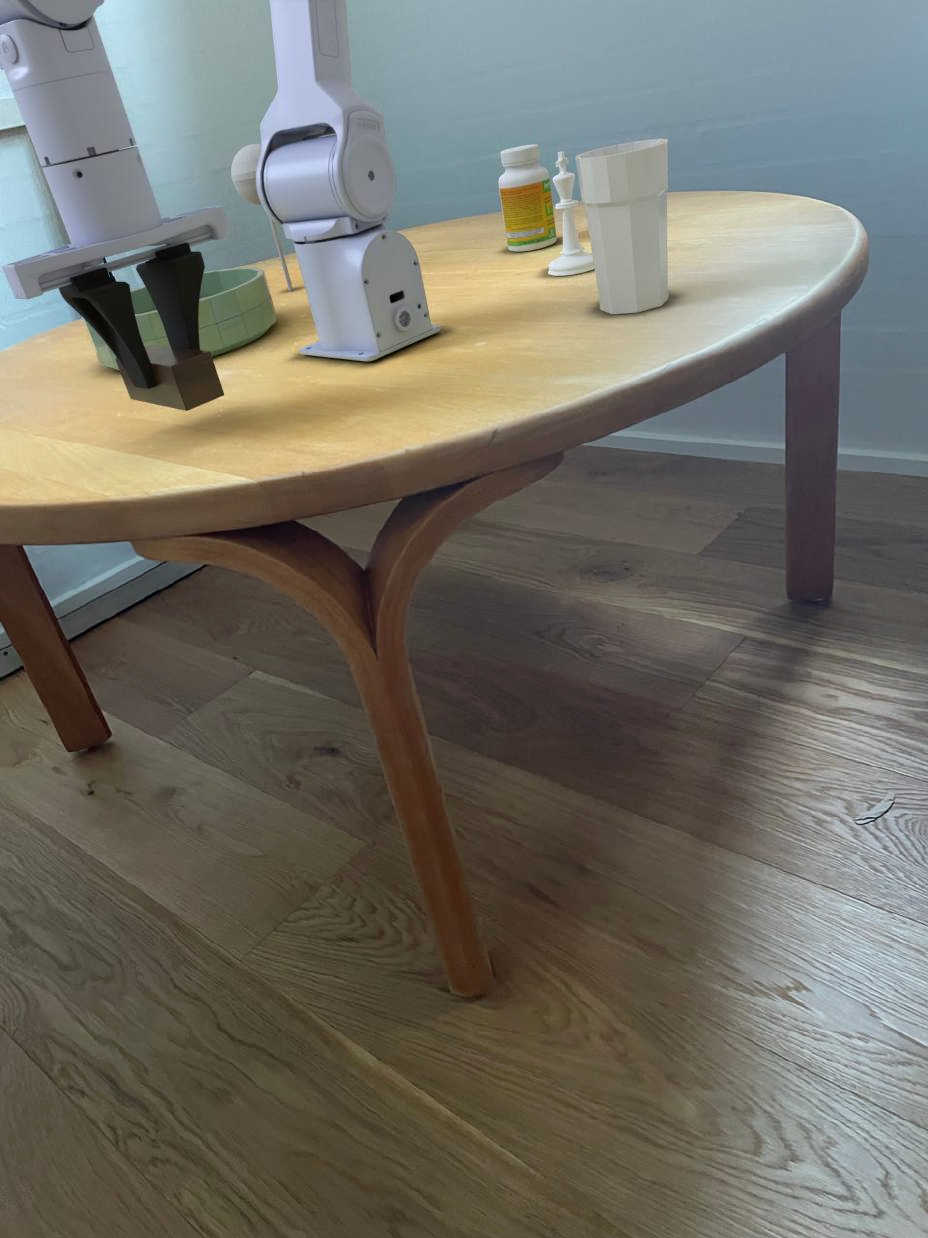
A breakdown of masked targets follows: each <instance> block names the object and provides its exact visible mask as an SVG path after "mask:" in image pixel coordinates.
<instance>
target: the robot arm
mask: <svg viewBox="0 0 928 1238" xmlns="http://www.w3.org/2000/svg"><path fill="white" fill-rule="evenodd" d="M104 3H105V0H0V70H2V71H4V74H5V76H6V78H7V82H8V84H9V86H10V90H11V92H12V94H13V97H14V100H15V102H16V106H17V107H18V109H19V112H20V116H21V117H22V120H23V122H24V126H25V128H26V130H27V134H28V136H29V138H30V141H31V143H32V146H33V148H34V152H35V154H36V156H37V159H38V162H39V165H40V166H41V167H42V168H41V169H42V171H43V175H44V177H45V179H46V182H47V184H48V187H49V189H50V192H51V195H52V197H53V200H54V202H55V206H56V208H57V210H58V213H59V215H60V218H61V220H62V223H63V226H64V229H65V231H66V234H67V236H68V238H69V241H70V243H69V244H66V245H62V246H60V247H57V248H54V249H50V250H48V251H45V252H42V253H39V254H36V255H33V256H30V257H27V258H23V259H20V260H17V261H15V262H10V263H7V264H4V265H1V268H2V271H3V273H4V276H5V278H6V280H7V283H8V285H9V288H10V290H11V292H12V294H13V296H14V298H15V299H17V300H30V299H34V298H37V297H40V296H43V295H44V293H47V292H50V291H55V290H56V289H58V291H59V293H60V295H61V297H62V298H63V300H64V301H65V302H66V303H67V304H68V305H69V306H70V307H71V308H73V310H74V311H76V312H77V313H78V314H79V315H80V317H81V316H82V317H83V318H84V319H85V320H86V321H87V322H88V323H89V324H90V325H91V326H92V328H93V329H94V330H95V331H96V332H97V333H98V334H99V335H100V337H101V338H102V339H103V340H104V341H105V343H106V344H107V345H108V346H109V348H110V349H111V350H112V352H113V353H114V354H115V356H116V357H117V359H118V360H119V362H120V363H121V364H122V366H123V368H124V369H125V371H126V372H127V374H128V376H129V377H130V379H131V381H132V382H133V384H134V386H135V387H138V388H144V389H150V388H153V387H155V386H157V385H156V380H155V376H154V372H153V369H152V365H151V362H150V359H149V357H148V354H147V352H146V349H145V347H144V344H143V342H142V339H141V336H140V332H139V329H138V325H137V321H136V317H135V313H134V308H133V303H132V297H131V291H132V290H131V284H130V283H128V282H126V281H117V280H116V277H115V275H112V276H110V274H109V273H111V272H114V271H118V270H122V269H124V268H128V267H131V266H134V265H136V267H135V271H136V272H137V274H138V276H139V277H140V279H141V281H142V283H143V285H144V287H146V289H147V290H148V292H149V294H150V296H151V298H152V300H153V303H154V305H155V307H156V309H157V311H158V313H159V316H160V318H161V320H162V323H163V326H164V329H165V332H166V335H167V338H168V341H169V344H170V347H178V348H186V349H195V350H200V342H199V320H198V317H199V299H200V290H201V284H202V278H203V274H204V272H205V270H206V269H205V268H206V265H205V261H204V257H203V254H202V252H201V251H198V250H197V251H196V250H195V251H192V249H191V248H192V247H195V246H198V245H201V244H205V243H208V242H211V241H219V240H222V239H223V240H224V239H226V238H230V237H231V235H232V234H231V231H230V227H229V224H228V220H227V218H226V213H225V210H224V206H223V205H215V206H206V207H202V208H199V209H196V210H191V211H188V212H184V213H180V214H175V215H171V216H168V217H164V218H162V216H161V213H160V210H159V207H158V204H157V200H156V198H155V195H154V192H153V189H152V186H151V183H150V179H149V176H148V173H147V170H146V168H145V164H144V161H143V159H142V156H141V153H140V149H139V146H137V141H136V137H135V135H134V132H133V129H132V126H131V123H130V120H129V117H128V113H127V111H126V109H125V105H124V102H123V99H122V96H121V93H120V90H119V87H118V84H117V81H116V78H115V75H114V72H113V70H112V67H111V63H110V61H109V58H108V53H107V51H106V48H105V46H104V42H103V40H102V36H101V33H100V30H99V27H98V25H97V21H96V19H95V15H94V14H95V13H96V11H97V9H98V8H99V7H101V6H103V5H104ZM347 11H348V10H347V0H269V12H270V20H271V21H270V22H271V31H272V41H273V50H274V51H273V52H274V61H275V62H274V63H275V71H276V81H277V92H276V94H275V96H274V98H273V100H272V102H271V103H270V106H268V109H267V111H266V113H265V114H264V116H263V118H262V120H261V122H260V125H259V133H260V144H261V153H260V158H259V162H258V165H257V171H256V185H257V191H258V196H259V199H260V202H261V204H262V205H261V207H262V209H263V210H264V212H265V213H266V215H267V216H268V218H269V217H270V219H271V220H272V221H273V222H274V223H275V225H276V226H278V227H280V228H281V229H283V232H284V233H283V234H284V237H285V240H287V241H293V244H292V245H293V247H294V252H295V255H296V259H297V262H298V267H299V270H300V273H301V278H302V281H303V285H304V289H305V292H306V296H307V300H308V304H309V308H310V311H311V316H312V320H313V324H314V327H315V330H316V334H317V339H318V340H317V341H315V342H313V343H309V344H307V345H305V346H303V347H301V348H299V352H300V355H304V356H314V357H322V358H333V359H341V360H351V361H360V362H372V361H376V360H378V359H379V358H382V357H384V356H387V355H389V354H391V353H394V352H395V351H398V350H400V349H402V348H404V347H407V346H409V345H411V344H414V343H417V342H418V341H420V340H423V339H425V338H428V337H430V336H433V335H435V334H436V333H439V332H440V331H441V326H440V325H439V324H432V320H431V314H430V311H429V303H428V300H427V295H426V289H425V285H424V281H423V280H424V279H423V275H422V270H421V263H420V260H419V256H418V254H417V251H416V249H415V247H414V245H413V244H412V242H411V241H410V240H409V239H408V238H407V237H406V236H405V235H403V234H402V233H401V232H398V231H395V230H390V229H388V228H387V227H386V226H385V224H384V223H387V222H389V221H390V215H389V212H390V210H391V208H392V206H393V203H394V199H395V196H396V188H397V179H396V177H397V176H396V169H395V165H394V161H393V158H392V155H391V151H390V150H389V146H388V143H387V139H386V131H385V119H384V115H383V113H382V112H381V111H379V109H378V108H376V107H375V106H374V105H373V104H372V103H370V102H369V101H368V100H367V99H365V98H364V97H362V96H361V95H360V94H359V93H358V92H357V91H355V89H353V79H352V66H351V65H352V64H351V54H350V53H351V52H350V51H351V50H350V39H349V23H348V12H347ZM270 219H269V220H270ZM153 246H154V248H150V249H148V250H144V251H141V252H137V253H135V254H131V255H128V256H124V257H121V258H119V259H115V260H111V261H108V262H105V260H104V258H108V257H111V256H116V255H120V254H123V253H128V252H131V251H135V250H138V249H142V248H145V247H153ZM82 317H81V318H82Z"/></svg>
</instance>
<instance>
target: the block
mask: <svg viewBox="0 0 928 1238" xmlns="http://www.w3.org/2000/svg"><path fill="white" fill-rule="evenodd" d="M145 349H146V352H147V354H148V357H149V359H150V362H151V365H152V369H153V372H154V376H155V380H156V385H157V386H155V387H153V388H150V389H144V388H138V387H135V386H134V384H133V382H132V381H131V379H130V377H129V376H128V374H127V372H126V371H125V369H124V368H123V366H122V364H121V363H120V362H119V360H118V359H117V357H116V358H115V360H116V362H117V365H118V368H119V370H120V371H119V372H120V375H121V378H122V380H123V382H124V386H125V388H126V390H127V393H128V396H129V398H130V399H131V400H132V401H138V402H143V403H147V404H152V405H157V406H162V407H167V408H171V409H175V410H181V411H184V412H188V411H191V410H194V409H195V408H198V407H201V406H202V405H205V404H207V403H209V402H212V401H215V400H216V399H219V398H221V397H224V396H225V392H224V389H223V386H222V382H221V380H220V376H219V374H218V371H217V368H216V364H215V362H214V358H213V357H212V355H211V352H210V351H203V350H195V349H186V348H178V347H170V346H161V345H153V344H151V345H149V346H146V347H145Z"/></svg>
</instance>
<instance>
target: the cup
mask: <svg viewBox="0 0 928 1238" xmlns="http://www.w3.org/2000/svg"><path fill="white" fill-rule="evenodd" d="M575 165H576V172H577V179H578V184H579V185H578V186H579V192H580V197H581V198H580V199H581V203H582V205H583V206H584V210H585V218H586V223H587V230H588V235H589V242H590V249H591V253H592V256H593V262H594V268H595V269H594V274H595V280H596V286H597V294H598V300H599V309H600V311H602V312H605V313H607V314H611V315H620V314H635V313H636V314H637V313H641V312H644V311H648V310H652V309H655V308H658V307H662V306H663V305H664V304H665V303H666V302H667V301H668V300H669V267H668V266H669V265H668V263H669V257H668V189H669V185H670V184H669V183H670V181H669V178H670V177H669V176H670V175H669V139H668V138H652V139H651V138H649V139H643V140H634V141H629V142H624V143H618V144H612V145H608V146H603V147H600V148H596V149H593V150H589V151H586V152H582V153H580V154H577V155H576V156H575Z"/></svg>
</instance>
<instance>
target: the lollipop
mask: <svg viewBox="0 0 928 1238" xmlns="http://www.w3.org/2000/svg"><path fill="white" fill-rule="evenodd" d="M260 153H261V143H250V144H248V145H245V146H243V147H242V148H241V149H240V150H238V152H237V153H236V155H234V158H233V160H232V162H231V167H230V168H231V169H230V177H231V182H232V184H233V186H234V188H235V190H236V191H237V193H238V194H239V195H240V196H241V197H242V198H243V199H244V200H245V201H247V202H249V203H250V204H254V205H256V206H257V205H258V206H262V204H261V202H260V199H259V196H258V191H257V185H256V171H257V165H258V162H259V158H260ZM268 219H269V222H270V226H271V230H272V234H273V237H274V241H275V244H276V249H277V252H278V255H279V259H280V262H281V267H282V270H283V274H284V277H285V280H286V284H287V288H288V291H289V292H292V291H294V288H293V284H292V281H291V277H290V273H289V270H288V266H287V262H286V258H285V255H284V251H283V247H282V244H281V240H280V235H279V233H278V230H277V224H275V223H274V222H273V221H272V220H271V219H270V217H269V216H268Z"/></svg>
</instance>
